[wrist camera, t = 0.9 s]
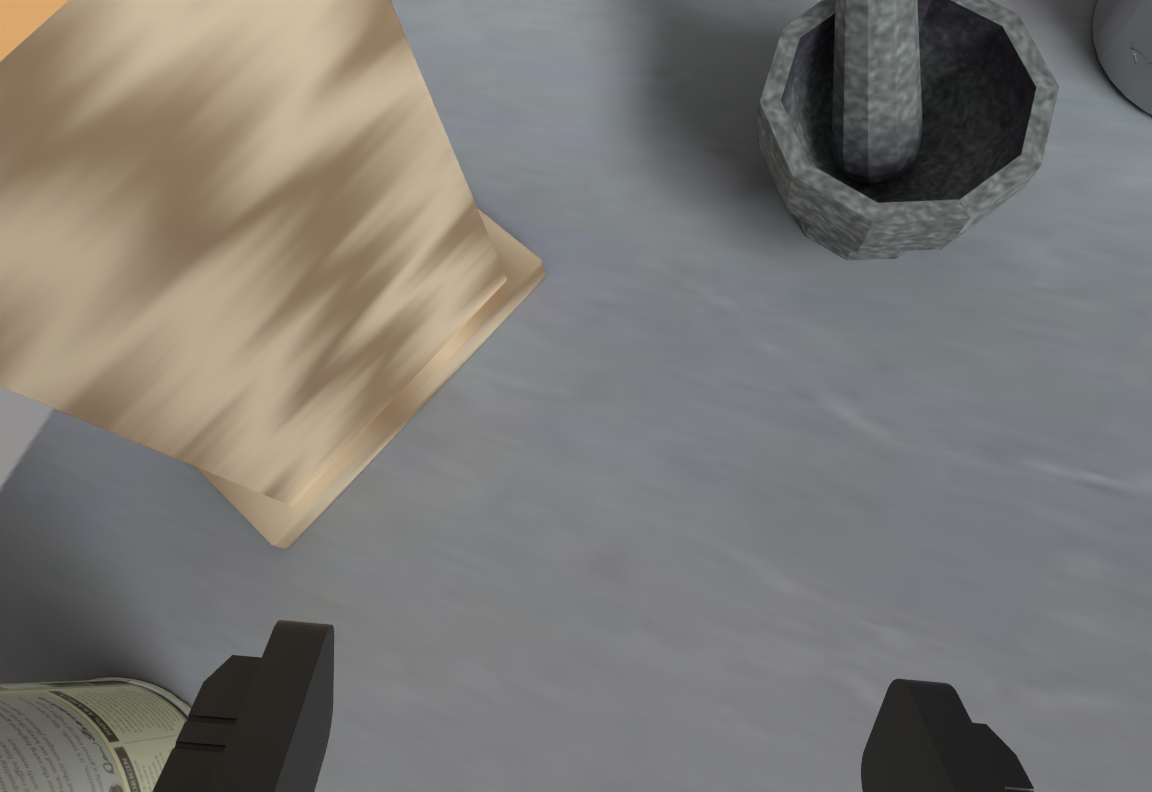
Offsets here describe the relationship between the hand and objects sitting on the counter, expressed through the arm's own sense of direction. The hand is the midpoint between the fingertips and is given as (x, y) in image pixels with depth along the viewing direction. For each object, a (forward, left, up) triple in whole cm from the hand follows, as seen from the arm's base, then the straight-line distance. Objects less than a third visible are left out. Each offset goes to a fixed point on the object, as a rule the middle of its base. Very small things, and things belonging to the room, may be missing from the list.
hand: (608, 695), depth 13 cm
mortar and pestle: (-21, -6, -21) cm, 30 cm away
